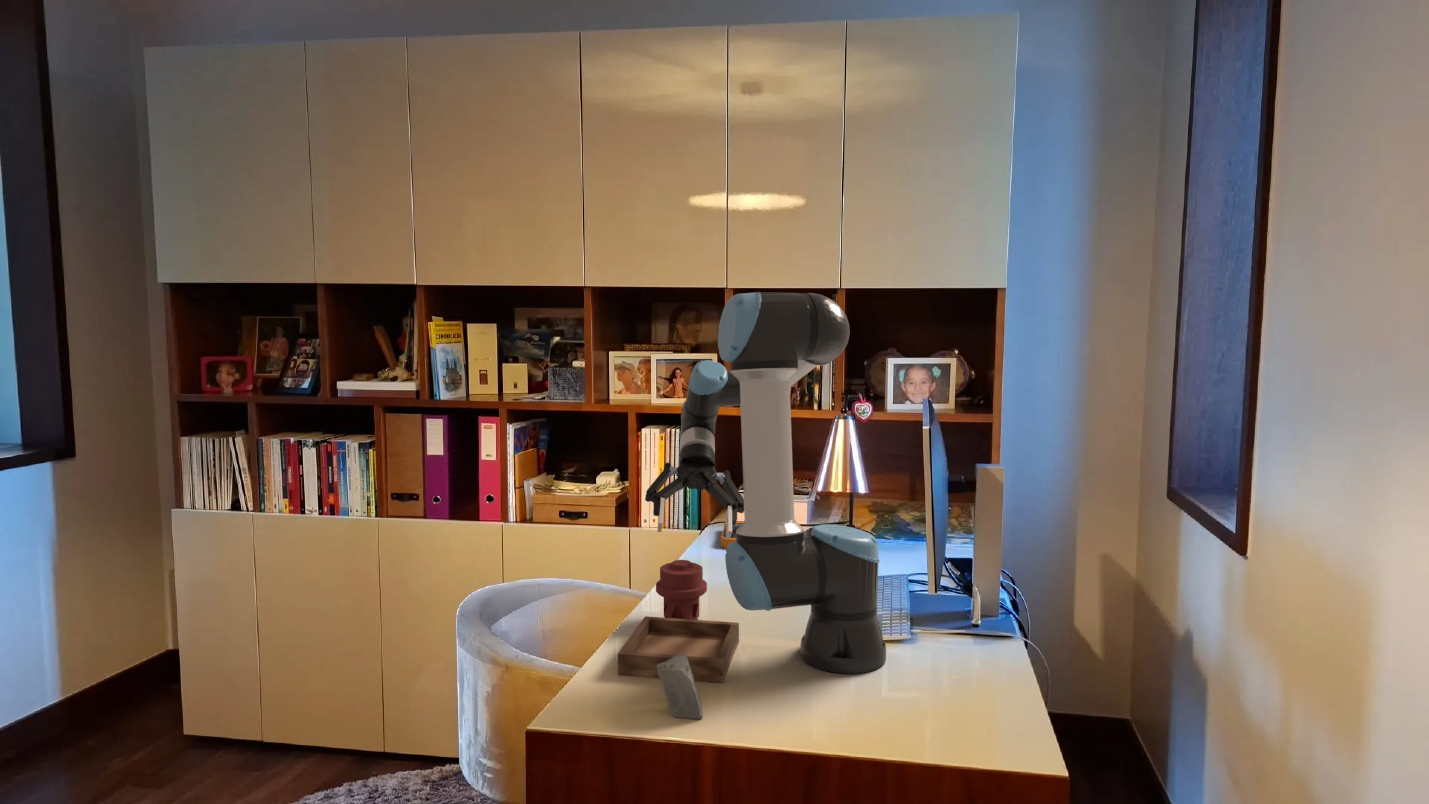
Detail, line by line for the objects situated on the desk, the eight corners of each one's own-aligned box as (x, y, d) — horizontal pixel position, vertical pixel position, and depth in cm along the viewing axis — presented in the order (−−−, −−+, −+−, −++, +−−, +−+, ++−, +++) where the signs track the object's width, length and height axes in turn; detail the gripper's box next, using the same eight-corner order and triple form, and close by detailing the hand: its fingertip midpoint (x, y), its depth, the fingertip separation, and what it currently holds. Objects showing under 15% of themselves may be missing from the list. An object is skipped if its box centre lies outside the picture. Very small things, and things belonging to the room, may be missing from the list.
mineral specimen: (696, 690, 141) (700, 647, 139) (707, 725, 133) (711, 680, 131) (651, 692, 139) (654, 649, 137) (659, 729, 131) (662, 683, 129)
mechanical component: (711, 616, 176) (700, 634, 166) (663, 612, 178) (650, 630, 168) (711, 556, 174) (700, 571, 165) (663, 553, 176) (649, 568, 167)
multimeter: (720, 550, 223) (720, 537, 223) (724, 532, 241) (724, 520, 241) (753, 551, 223) (754, 538, 222) (755, 532, 241) (755, 520, 240)
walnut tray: (738, 641, 163) (739, 622, 162) (722, 683, 145) (722, 661, 145) (645, 635, 166) (645, 616, 165) (617, 674, 148) (617, 653, 148)
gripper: (751, 473, 190) (753, 550, 174) (636, 458, 187) (628, 536, 171) (758, 449, 185) (761, 526, 169) (641, 433, 182) (633, 511, 166)
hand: (694, 531), depth 170 cm, fingers open, 13 cm apart
